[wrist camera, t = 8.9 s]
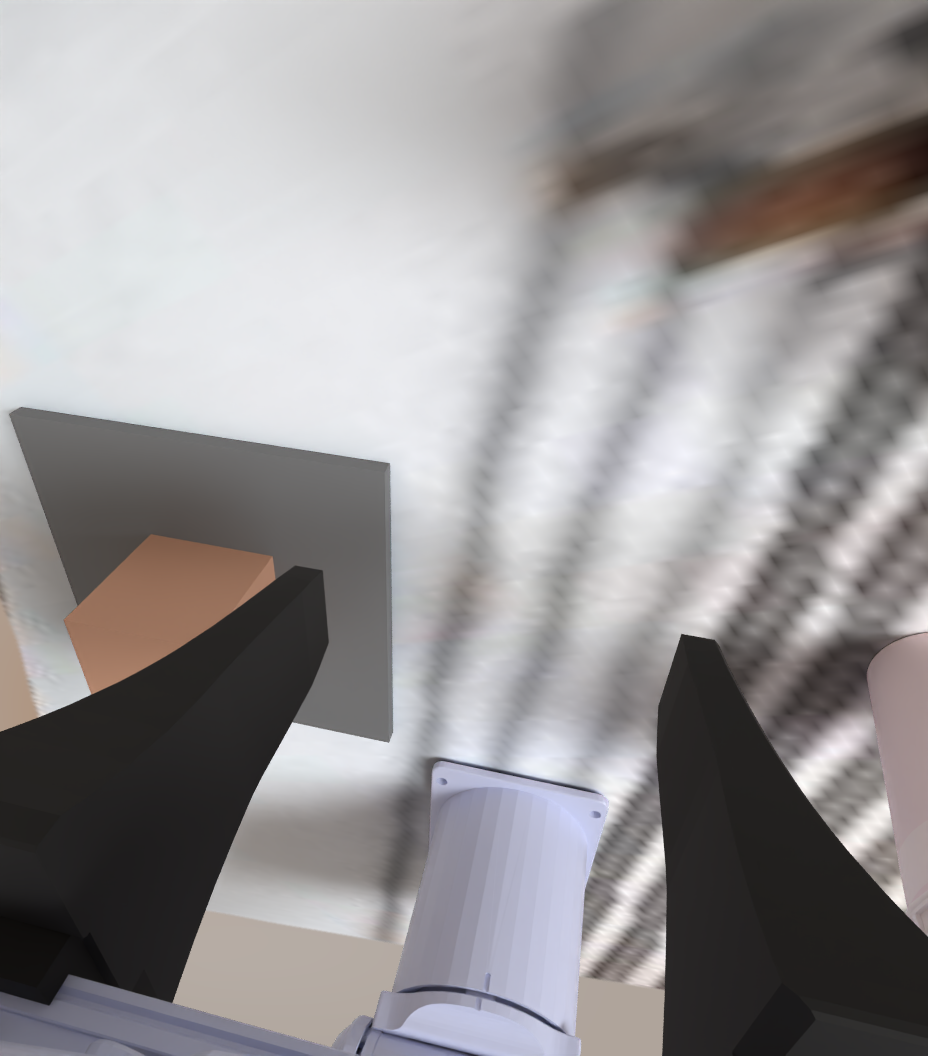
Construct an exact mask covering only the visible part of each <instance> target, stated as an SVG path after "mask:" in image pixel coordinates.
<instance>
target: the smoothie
mask: <svg viewBox="0 0 928 1056" xmlns="http://www.w3.org/2000/svg"><path fill="white" fill-rule="evenodd" d="M867 683H868V688H869V694H870V700H871V705H872V711H873V717H874V723H875V728H876V734H877V740H878V745H879V751H880V757H881V762H882V768H883V774H884V780H885V785H886V791H887V797H888V802H889V808H890V814H891V819H892V825H893V831H894V837H895V842H896V848H897V854H898V861H899V868H900V873H901V878H902V883H903V889H904V894H905V899H906V904H907V910H906V912H905V914H906V915H907V916H908V917H909V918H910V919H911V920H912V921H913V922H914V923H915V924H916V925H917V926H918V927H919V928H920V929H921V930H922V931H923V932H924V933H925V934H926V935H927V936H928V633H922V634H916V635H912V636H908V637H905V638H902V639H900V640H897V641H895V642H893V643H891V644H890V645H888V646H886V647H885V648H884V649H882V650H881V651H880V652H879V653H878V654H877V655H876V656H875V657H874V658H873V660H872V661H871V663H870V665H869V667H868V670H867Z"/></svg>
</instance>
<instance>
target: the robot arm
mask: <svg viewBox="0 0 928 1056" xmlns="http://www.w3.org/2000/svg"><path fill="white" fill-rule="evenodd" d="M328 644H329V638H328V626H327V614H326V602H325V590H324V578H323V570H318V569H312V568H307V567H301V566H296V565H295V566H293V567H292V568H291V569H289V570H288V571H287V572H285V573H284V574H282V575H281V576H280V577H278V578H277V579H276V580H274V581H273V582H272V583H270V584H269V585H268V586H266V587H265V588H264V589H262V590H261V591H260V592H258V593H257V594H256V595H254V596H253V597H252V598H250V599H249V600H248V601H246V602H245V603H244V604H242V605H241V606H240V607H238V608H237V609H235V610H234V611H233V612H231V613H230V614H228V615H227V616H226V617H224V618H223V619H221V620H220V621H219V622H217V623H216V624H214V625H213V626H212V627H210V628H209V629H207V630H206V631H204V632H203V633H201V634H200V635H198V636H196V637H195V638H193V639H192V640H190V641H189V642H187V643H186V644H184V645H183V646H181V647H180V648H178V649H177V650H175V651H173V652H172V653H170V654H168V655H167V656H165V657H163V658H162V659H160V660H158V661H156V662H155V663H153V664H151V665H149V666H148V667H146V668H144V669H142V670H140V671H138V672H137V673H135V674H133V675H131V676H129V677H127V678H125V679H123V680H121V681H119V682H117V683H115V684H113V685H111V686H109V687H107V688H105V689H102V690H100V691H98V692H96V693H94V694H92V695H90V696H88V697H85V698H83V699H81V700H79V701H77V702H75V703H73V704H70V705H68V706H66V707H63V708H61V709H58V710H56V711H53V712H51V713H49V714H46V715H44V716H41V717H39V718H36V719H33V720H31V721H28V722H25V723H23V724H20V725H18V726H15V727H12V728H9V729H7V730H4V731H1V732H0V1056H580V1052H581V1040H580V1038H578V1037H575V1028H576V1013H577V998H578V982H579V967H580V952H581V937H582V922H583V907H584V892H585V887H586V883H587V880H588V877H589V873H590V870H591V867H592V863H593V860H594V856H595V853H596V850H597V846H598V843H599V840H600V836H601V833H602V829H603V826H604V823H605V819H606V816H607V813H608V807H609V801H608V799H607V798H606V797H604V796H603V795H600V794H596V793H591V792H586V791H581V790H577V789H572V788H567V787H563V786H558V785H553V784H549V783H544V782H539V781H534V780H530V779H525V778H520V777H516V776H511V775H506V774H502V773H497V772H492V771H487V770H483V769H478V768H473V767H469V766H464V765H459V764H455V763H450V762H445V761H439V762H436V763H435V764H434V766H433V769H432V780H431V804H430V828H429V853H428V857H427V861H426V864H425V868H424V872H423V876H422V880H421V883H420V887H419V891H418V895H417V898H416V902H415V906H414V910H413V914H412V917H411V921H410V925H409V929H408V933H407V936H406V940H405V944H404V948H403V951H402V956H401V959H400V963H399V967H398V971H397V974H396V978H395V982H394V986H393V989H392V992H389V991H382V992H381V994H380V998H379V1001H378V1005H377V1009H376V1012H375V1016H374V1019H373V1018H371V1017H368V1016H365V1015H362V1016H358V1017H357V1018H356V1019H355V1020H354V1021H353V1022H352V1024H351V1025H349V1026H348V1027H347V1028H346V1029H344V1030H343V1031H342V1032H341V1033H340V1034H339V1035H338V1037H337V1038H336V1040H335V1042H334V1043H333V1045H332V1047H328V1046H324V1045H321V1044H317V1043H314V1042H310V1041H306V1040H303V1039H299V1038H296V1037H292V1036H289V1035H285V1034H281V1033H277V1032H274V1031H271V1030H267V1029H263V1028H259V1027H256V1026H252V1025H249V1024H245V1023H242V1022H238V1021H235V1020H231V1019H227V1018H224V1017H220V1016H217V1015H213V1014H209V1013H206V1012H202V1011H199V1010H195V1009H191V1008H188V1007H184V1006H181V1005H177V1004H173V1003H172V1002H173V1000H174V997H175V994H176V991H177V988H178V985H179V982H180V979H181V977H182V974H183V971H184V968H185V965H186V962H187V959H188V957H189V953H190V951H191V948H192V945H193V942H194V939H195V937H196V934H197V932H198V929H199V926H200V923H201V921H202V918H203V915H204V913H205V910H206V908H207V905H208V902H209V900H210V897H211V894H212V892H213V889H214V887H215V884H216V882H217V879H218V877H219V874H220V872H221V869H222V867H223V864H224V862H225V859H226V857H227V854H228V852H229V849H230V847H231V844H232V842H233V840H234V837H235V835H236V833H237V830H238V828H239V826H240V823H241V821H242V819H243V816H244V814H245V812H246V809H247V807H248V805H249V802H250V800H251V798H252V796H253V794H254V792H255V790H256V788H257V786H258V784H259V782H260V780H261V778H262V776H263V774H264V772H265V770H266V768H267V767H268V765H269V763H270V761H271V759H272V758H273V756H274V754H275V752H276V750H277V749H278V747H279V745H280V743H281V741H282V740H283V738H284V736H285V734H286V732H287V731H288V729H289V727H290V725H291V723H292V722H293V720H294V718H295V716H296V714H297V713H298V711H299V709H300V707H301V705H302V703H303V702H304V700H305V698H306V696H307V694H308V692H309V690H310V689H311V687H312V685H313V682H314V680H315V677H316V675H317V672H318V670H319V668H320V665H321V662H322V660H323V657H324V654H325V652H326V649H327V646H328ZM657 768H658V781H659V793H660V805H661V817H662V828H663V840H664V852H665V864H666V884H667V914H666V966H665V1002H664V1026H663V1052H662V1056H928V936H927V935H926V934H925V933H924V932H923V931H922V930H921V929H920V928H919V927H918V926H917V925H916V924H915V923H914V922H913V921H912V920H911V919H910V918H909V917H908V916H907V915H906V914H905V913H904V912H903V911H902V910H901V909H900V908H899V907H898V906H897V905H896V904H895V903H894V902H893V901H892V900H891V899H890V898H889V896H888V895H887V894H886V893H885V892H884V891H883V890H882V889H881V888H880V887H879V885H878V884H877V883H876V882H875V881H874V880H873V879H872V878H871V876H870V875H869V874H868V873H867V872H866V871H865V870H864V869H863V867H862V866H861V865H860V864H859V863H858V862H857V861H856V860H855V858H854V857H853V856H852V855H851V854H850V853H849V852H848V851H847V849H846V848H845V847H844V846H843V844H842V843H841V842H840V841H839V839H838V838H837V837H836V836H835V834H834V833H833V832H832V831H831V830H830V828H829V827H828V826H827V824H826V823H825V822H824V820H823V819H822V818H821V816H820V815H819V814H818V812H817V811H816V810H815V809H814V807H813V806H812V805H811V803H810V802H809V800H808V799H807V798H806V796H805V795H804V793H803V792H802V791H801V789H800V788H799V786H798V785H797V783H796V782H795V780H794V779H793V777H792V776H791V774H790V773H789V771H788V770H787V768H786V767H785V765H784V764H783V762H782V761H781V759H780V758H779V756H778V754H777V753H776V751H775V750H774V748H773V746H772V745H771V743H770V742H769V740H768V738H767V736H766V735H765V733H764V731H763V730H762V728H761V726H760V724H759V723H758V721H757V719H756V717H755V716H754V714H753V712H752V711H751V709H750V707H749V705H748V703H747V701H746V700H745V698H744V696H743V694H742V692H741V690H740V688H739V686H738V684H737V682H736V680H735V678H734V676H733V674H732V672H731V670H730V668H729V666H728V664H727V662H726V660H725V658H724V656H723V654H722V652H721V649H720V647H719V645H718V644H717V643H716V641H715V640H712V639H706V638H701V637H695V636H689V635H684V634H681V637H680V641H679V644H678V647H677V650H676V653H675V656H674V659H673V662H672V666H671V669H670V672H669V675H668V678H667V681H666V684H665V687H664V690H663V694H662V697H661V700H660V703H659V706H658V727H657Z"/></svg>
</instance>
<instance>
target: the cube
mask: <svg viewBox="0 0 928 1056" xmlns="http://www.w3.org/2000/svg"><path fill="white" fill-rule="evenodd" d="M274 580H276V579H275V571H274V563H273V556H269V555H263V554H257V553H252V552H246V551H241V550H235V549H230V548H224V547H219V546H213V545H208V544H202V543H197V542H191V541H186V540H180V539H175V538H169V537H164V536H158V535H153V534H151V535H150V536H149V537H148V538H147V539H146V540H145V541H143V542H142V543H141V544H140V545H139V546H138V547H137V548H136V549H135V550H134V551H133V552H132V553H131V554H130V555H129V556H128V557H127V558H126V559H125V560H124V561H123V562H122V563H121V564H120V565H119V566H118V567H117V568H116V569H115V570H114V571H113V572H112V573H111V574H110V575H109V576H108V577H107V578H106V579H105V580H104V581H103V582H102V583H101V584H100V585H99V586H98V587H97V588H96V589H95V590H94V591H93V592H92V593H91V594H90V595H89V596H88V597H87V598H86V599H85V600H84V601H82V602H81V603H80V604H79V605H78V606H77V607H76V608H75V609H74V610H73V611H72V612H71V613H70V614H69V615H68V616H67V617H66V618H65V619H64V622H65V625H66V627H67V630H68V633H69V635H70V638H71V641H72V643H73V646H74V649H75V651H76V654H77V657H78V659H79V662H80V665H81V667H82V670H83V673H84V676H85V678H86V681H87V684H88V686H89V689H90V692H91V694H94V693H96V692H98V691H100V690H102V689H105V688H107V687H109V686H111V685H113V684H115V683H117V682H119V681H121V680H123V679H125V678H127V677H129V676H131V675H133V674H135V673H137V672H138V671H140V670H142V669H144V668H146V667H148V666H149V665H151V664H153V663H155V662H156V661H158V660H160V659H162V658H163V657H165V656H167V655H168V654H170V653H172V652H173V651H175V650H177V649H178V648H180V647H181V646H183V645H184V644H186V643H187V642H189V641H190V640H192V639H193V638H195V637H196V636H198V635H200V634H201V633H203V632H204V631H206V630H207V629H209V628H210V627H212V626H213V625H214V624H216V623H217V622H219V621H220V620H221V619H223V618H224V617H226V616H227V615H228V614H230V613H231V612H233V611H234V610H235V609H237V608H238V607H240V606H241V605H242V604H244V603H245V602H246V601H248V600H249V599H250V598H252V597H253V596H254V595H256V594H257V593H258V592H260V591H261V590H262V589H264V588H265V587H266V586H268V585H269V584H270V583H272V582H273V581H274Z"/></svg>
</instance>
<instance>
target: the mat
mask: <svg viewBox="0 0 928 1056" xmlns="http://www.w3.org/2000/svg"><path fill="white" fill-rule="evenodd" d="M9 415H10V418H11V421H12V423H13V426H14V429H15V432H16V435H17V437H18V440H19V443H20V446H21V448H22V451H23V454H24V457H25V460H26V462H27V465H28V468H29V471H30V474H31V476H32V479H33V482H34V485H35V488H36V490H37V493H38V496H39V499H40V501H41V504H42V507H43V510H44V513H45V515H46V518H47V521H48V524H49V527H50V529H51V532H52V535H53V538H54V541H55V543H56V546H57V549H58V552H59V554H60V557H61V560H62V563H63V566H64V568H65V571H66V574H67V577H68V580H69V582H70V585H71V588H72V591H73V594H74V596H75V599H76V602H77V605H79V604H80V603H81V602H82V601H84V600H85V599H86V598H87V597H88V596H89V595H90V594H91V593H92V592H93V591H94V590H95V589H96V588H97V587H98V586H99V585H100V584H101V583H102V582H103V581H104V580H105V579H106V578H107V577H108V576H109V575H110V574H111V573H112V572H113V571H114V570H115V569H116V568H117V567H118V566H119V565H120V564H121V563H122V562H123V561H124V560H125V559H126V558H127V557H128V556H129V555H130V554H131V553H132V552H133V551H134V550H135V549H136V548H137V547H138V546H139V545H140V544H141V543H142V542H143V541H145V540H146V539H147V538H148V537H149V536H150V535H151V534H153V535H158V536H164V537H169V538H175V539H180V540H186V541H191V542H197V543H202V544H208V545H213V546H219V547H224V548H230V549H235V550H241V551H246V552H252V553H257V554H263V555H269V556H273V563H274V571H275V579H277V578H278V577H280V576H281V575H282V574H284V573H285V572H287V571H288V570H289V569H291V568H292V567H293V566H295V565H296V566H301V567H307V568H312V569H318V570H323V578H324V590H325V602H326V614H327V626H328V638H329V644H328V646H327V649H326V652H325V654H324V657H323V660H322V662H321V665H320V668H319V670H318V672H317V675H316V677H315V680H314V682H313V685H312V687H311V689H310V690H309V692H308V694H307V696H306V698H305V700H304V702H303V703H302V705H301V707H300V709H299V711H298V713H297V714H296V716H295V718H294V720H293V722H294V723H299V724H303V725H308V726H313V727H318V728H322V729H327V730H332V731H336V732H341V733H346V734H351V735H355V736H360V737H365V738H370V739H374V740H379V741H384V742H389V741H390V738H391V736H392V733H393V698H392V606H391V515H390V464H389V463H383V462H376V461H370V460H363V459H356V458H350V457H343V456H337V455H330V454H324V453H317V452H311V451H304V450H298V449H291V448H285V447H278V446H272V445H265V444H258V443H252V442H245V441H239V440H232V439H226V438H219V437H213V436H206V435H200V434H193V433H187V432H180V431H173V430H167V429H160V428H154V427H147V426H141V425H134V424H128V423H121V422H115V421H108V420H102V419H95V418H88V417H82V416H75V415H69V414H62V413H56V412H49V411H43V410H36V409H30V408H23V407H21V408H19V409H17V410H16V411H14V412H12V413H10V414H9Z"/></svg>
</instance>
